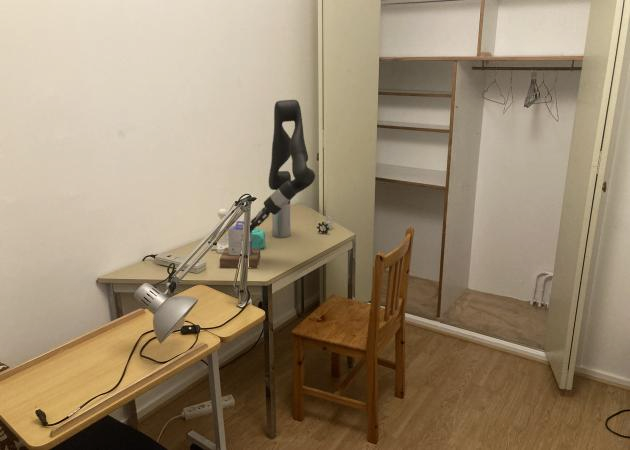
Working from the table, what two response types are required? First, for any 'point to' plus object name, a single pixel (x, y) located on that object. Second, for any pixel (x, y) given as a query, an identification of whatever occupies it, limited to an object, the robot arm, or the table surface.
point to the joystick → (223, 240)
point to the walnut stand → (233, 260)
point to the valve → (326, 225)
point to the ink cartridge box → (237, 239)
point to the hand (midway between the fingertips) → (251, 226)
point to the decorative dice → (258, 239)
